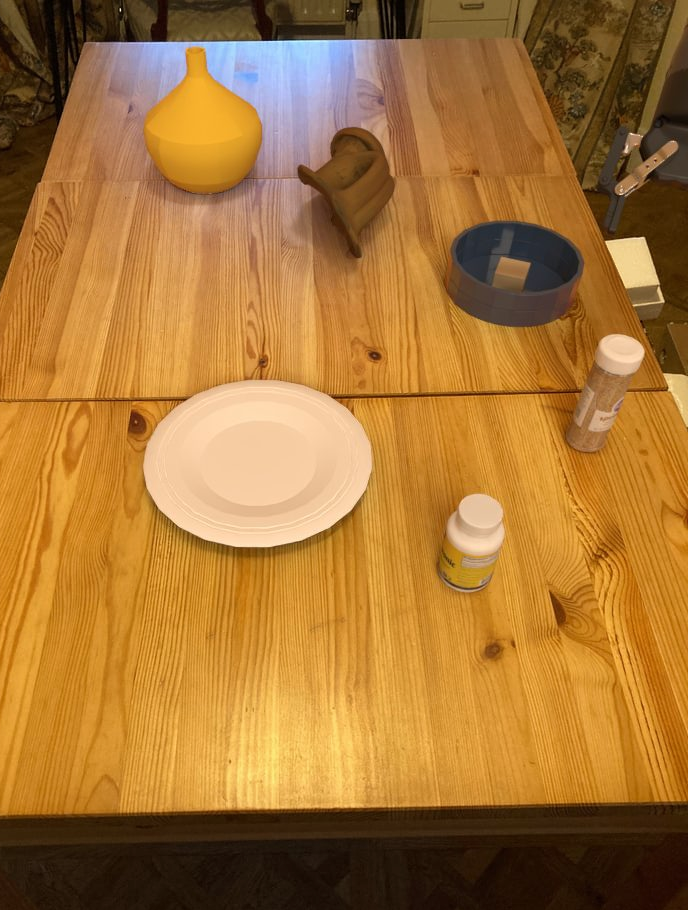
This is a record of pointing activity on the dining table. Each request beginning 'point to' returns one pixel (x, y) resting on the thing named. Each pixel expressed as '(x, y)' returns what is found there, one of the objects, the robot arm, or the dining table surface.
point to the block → (511, 274)
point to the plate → (257, 463)
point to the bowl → (542, 247)
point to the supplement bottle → (472, 543)
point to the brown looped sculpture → (353, 182)
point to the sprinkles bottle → (604, 391)
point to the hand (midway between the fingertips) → (652, 244)
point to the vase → (202, 132)
